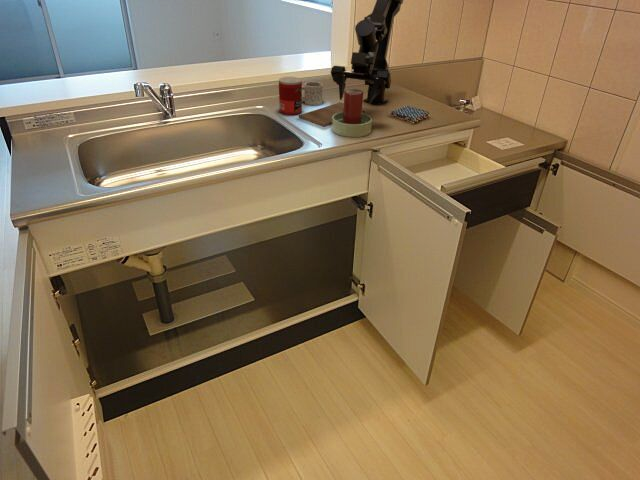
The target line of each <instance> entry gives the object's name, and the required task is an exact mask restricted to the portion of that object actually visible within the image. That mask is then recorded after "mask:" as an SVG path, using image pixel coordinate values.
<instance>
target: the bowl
mask: <svg viewBox="0 0 640 480" xmlns="http://www.w3.org/2000/svg"><path fill="white" fill-rule="evenodd" d="M372 124H373V118H372V116H371V115H369V114H368V113H366V112H365V113H362V116H361V124H354V125H353V124H345V123H343V112H339V113H336V114H334V115H333V116H332V125H331V131H332V132H333V133H334V134H336V135H338V136H342V137H345V138H346V137H347V138H361V137H365V136H368V135H370V134H371V132H372Z"/></svg>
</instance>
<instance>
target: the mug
mask: <svg viewBox="0 0 640 480" xmlns="http://www.w3.org/2000/svg"><path fill="white" fill-rule="evenodd" d="M323 86H324V84H323V83H322V82H319V81H308V82H304V85H302V90H304V96H302V102H304V104H305V105H308V106H319V105H322V104H323V91H324V89H323V88H324V87H323Z"/></svg>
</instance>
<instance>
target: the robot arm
mask: <svg viewBox="0 0 640 480" xmlns="http://www.w3.org/2000/svg"><path fill="white" fill-rule="evenodd" d="M403 3H404V0H376V1H375V3H374V6H373V9H372V12H371V13H369V14H368V15H367V16H364V18H363V19H361V20H360V21H359V22H357V24H356V25H355V27H354V29H355V30H354V31H355V35H356V41H357V45H358V46H359V48H358V52H356V51H354V52H351V53H352V54H351V59H350V64H351V70H352V71H348V70H347V69H346V67H345V66H342V65H333V66H332V67H331V70H330V75H331V78H332V80H333V82H334V83H336V85H338V92H339V93H338V94H339V100H340V101H342V100H343V99H344V91H345V90H346V86H347V85H346V82H347V79H350V80H351V79H352V80H359V81H364V86H368V89H367V96H366V98H363V101H364V102H367V104H368V105H370V104H374V105H380V104H383V103H387V102H388V99H385V94H386V92H385V91H386V89H387V90H388V89H390V88H391V84H392V77H391V75H392V74H391V72H390V67H389V64H388V61H387V56H388V50H389V46H390V40H391V35H392V29H393V24H394V19H395V17H396V16H397V14H398V13H399V12H400V10H401V6H402V5H403Z"/></svg>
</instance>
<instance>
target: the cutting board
mask: <svg viewBox="0 0 640 480" xmlns="http://www.w3.org/2000/svg"><path fill="white" fill-rule="evenodd" d="M343 109H344V102H341V101H340V102H336V103H333V104H329V105H327V106H324V107H321V108H317V109H315V110H311V111H307V112H304V113H300V114H298V119H299V120H300V119H301V120H303V121H306V122H307V123H308V122H309V123H311V124H314V125H316V126H319V127H322V128H327V127H329V126H332V116H333V115H334V114H336V113H339V112H343ZM362 113H365V114H366V109H363V108H362Z"/></svg>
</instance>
